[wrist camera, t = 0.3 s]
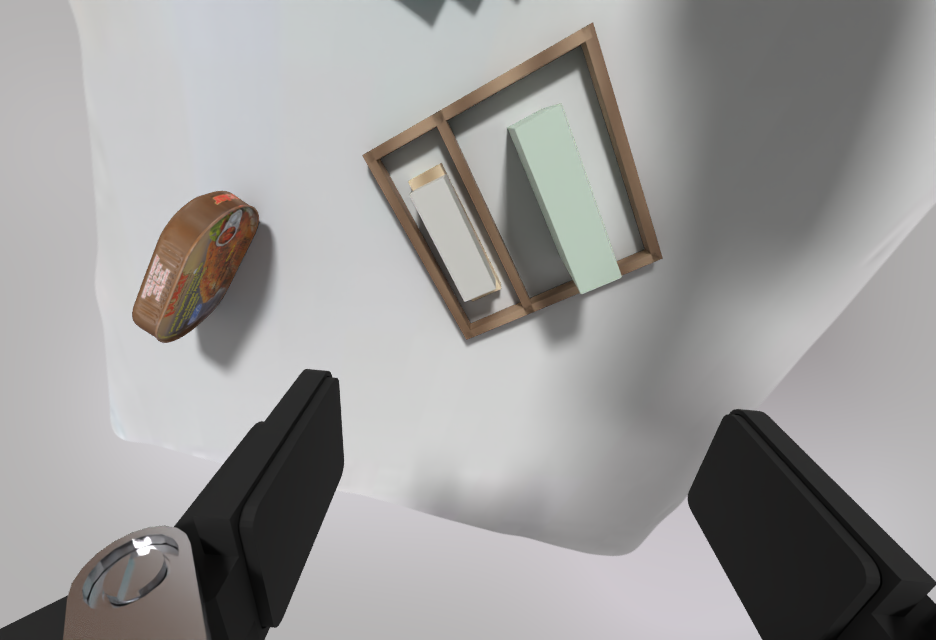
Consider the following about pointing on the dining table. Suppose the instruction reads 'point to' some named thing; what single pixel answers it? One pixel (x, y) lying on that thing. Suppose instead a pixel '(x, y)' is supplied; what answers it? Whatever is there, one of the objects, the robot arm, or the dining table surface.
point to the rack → (440, 120)
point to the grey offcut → (454, 237)
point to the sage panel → (565, 196)
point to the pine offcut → (439, 172)
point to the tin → (194, 264)
